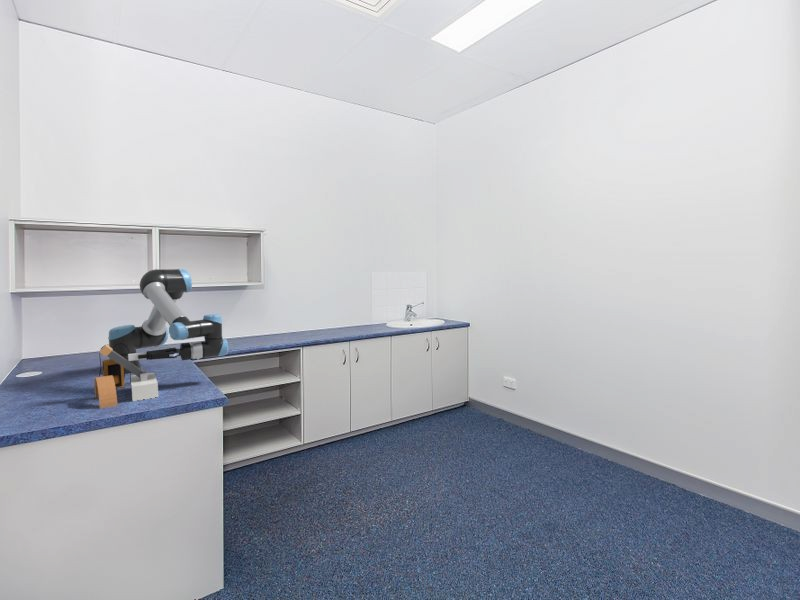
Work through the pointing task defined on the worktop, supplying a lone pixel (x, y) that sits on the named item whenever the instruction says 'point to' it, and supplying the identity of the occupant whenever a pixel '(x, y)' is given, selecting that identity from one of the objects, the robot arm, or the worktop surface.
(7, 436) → the worktop surface
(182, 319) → the robot arm
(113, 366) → the multimeter
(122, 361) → the lever
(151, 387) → the white rectangular slab
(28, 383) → the worktop surface
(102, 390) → the arch
